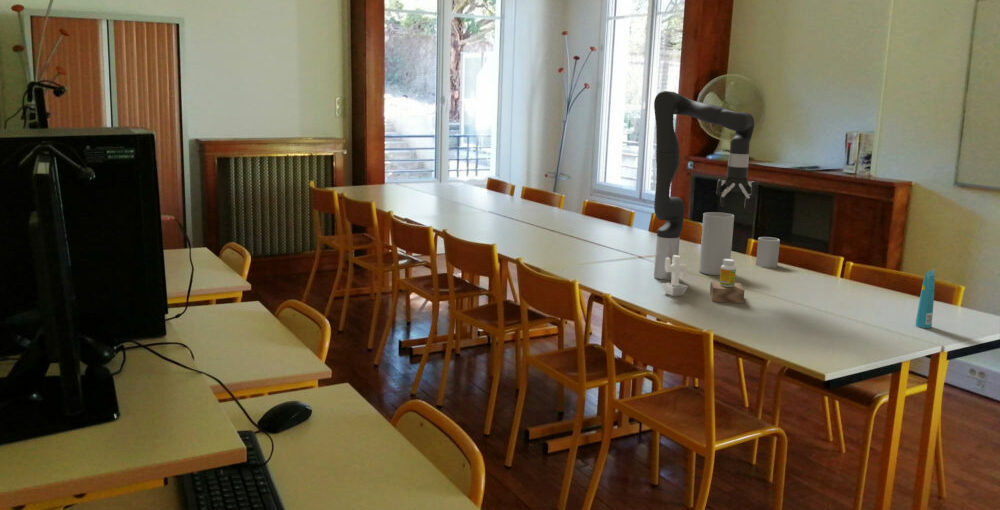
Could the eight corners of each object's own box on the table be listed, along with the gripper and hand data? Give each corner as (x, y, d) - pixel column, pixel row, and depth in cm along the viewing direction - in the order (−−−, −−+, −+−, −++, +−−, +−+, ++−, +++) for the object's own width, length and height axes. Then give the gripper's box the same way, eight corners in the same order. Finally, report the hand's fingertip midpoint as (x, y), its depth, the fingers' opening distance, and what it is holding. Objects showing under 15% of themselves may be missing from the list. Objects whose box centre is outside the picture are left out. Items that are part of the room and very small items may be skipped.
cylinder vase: (726, 270, 359) (731, 212, 354) (731, 276, 346) (736, 217, 341) (697, 268, 360) (701, 211, 355) (701, 275, 348) (705, 216, 343)
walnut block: (712, 301, 305) (713, 288, 304) (709, 294, 316) (710, 281, 315) (743, 303, 303) (744, 290, 302) (739, 296, 314) (740, 283, 313)
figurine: (690, 295, 313) (693, 256, 310) (669, 297, 309) (672, 258, 306) (678, 291, 319) (680, 252, 316) (658, 293, 315) (660, 254, 312)
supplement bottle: (731, 288, 305) (734, 262, 303) (717, 285, 308) (719, 260, 306) (736, 285, 309) (738, 259, 307) (721, 283, 312) (724, 257, 310)
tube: (918, 322, 284) (925, 267, 280) (933, 325, 281) (941, 270, 277) (912, 327, 278) (919, 271, 274) (928, 330, 275) (935, 273, 271)
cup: (755, 266, 368) (757, 239, 366) (756, 262, 377) (759, 236, 374) (776, 268, 365) (779, 241, 363) (777, 264, 373) (780, 238, 371)
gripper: (719, 165, 315) (716, 207, 319) (758, 167, 313) (754, 209, 316) (718, 163, 322) (714, 204, 326) (756, 165, 320) (751, 206, 324)
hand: (734, 207), depth 321 cm, fingers open, 8 cm apart
